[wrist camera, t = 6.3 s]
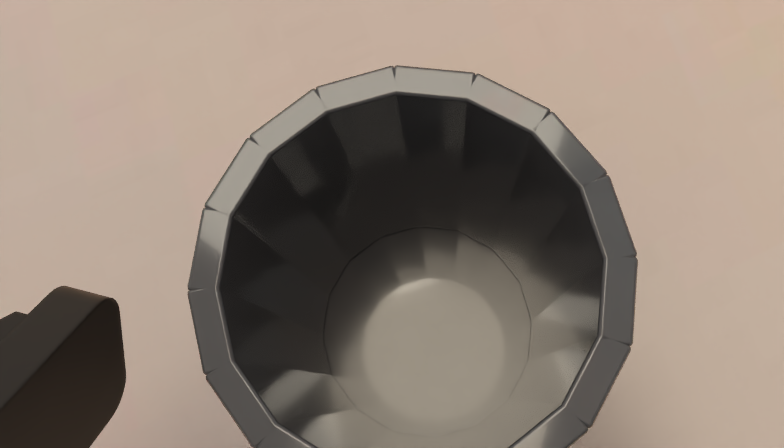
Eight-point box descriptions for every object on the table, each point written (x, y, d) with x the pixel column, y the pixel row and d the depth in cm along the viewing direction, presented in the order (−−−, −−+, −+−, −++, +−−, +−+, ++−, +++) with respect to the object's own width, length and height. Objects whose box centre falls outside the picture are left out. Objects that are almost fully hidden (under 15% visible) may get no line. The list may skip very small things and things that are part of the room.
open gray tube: (596, 351, 18) (735, 313, 9) (405, 504, 18) (363, 614, 9) (446, 171, 19) (444, -12, 11) (265, 309, 19) (109, 237, 10)
